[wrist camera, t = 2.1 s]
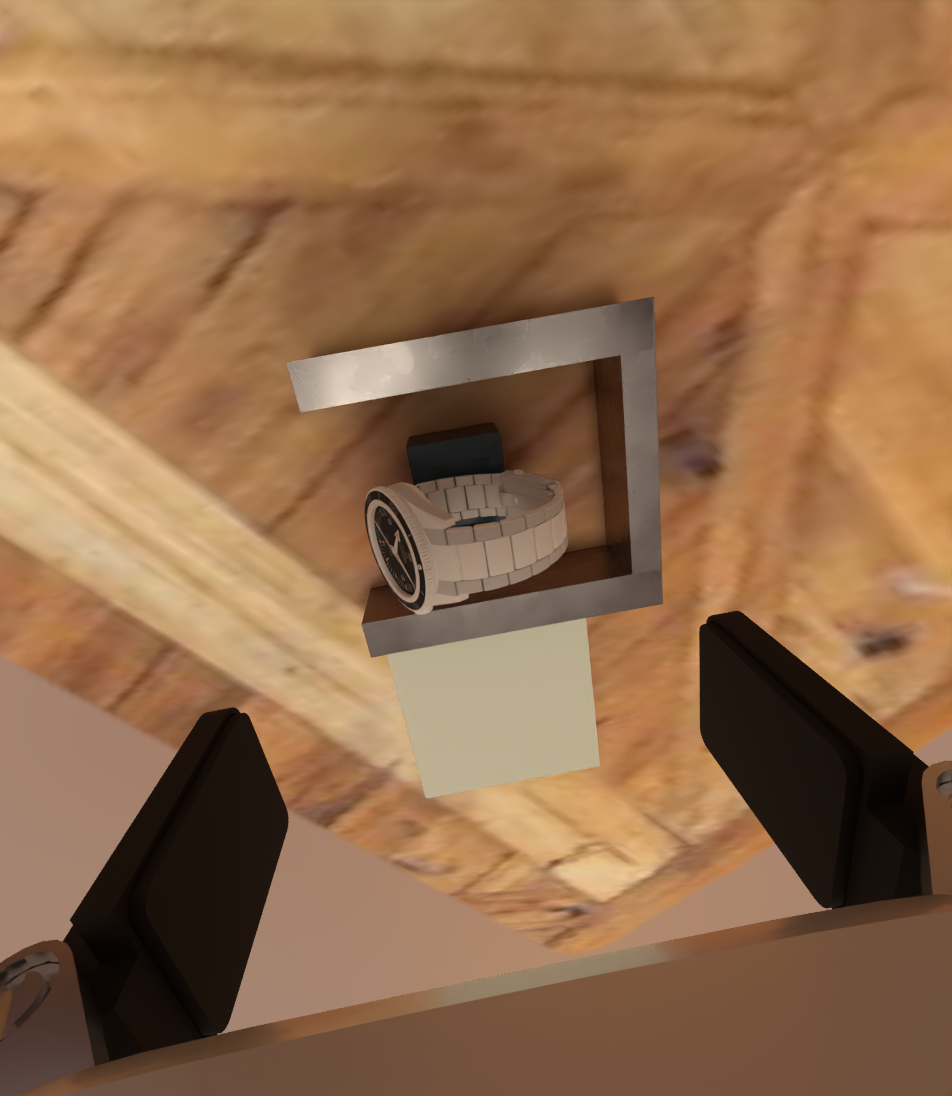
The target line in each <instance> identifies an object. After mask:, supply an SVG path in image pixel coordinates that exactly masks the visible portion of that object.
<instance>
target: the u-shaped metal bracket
mask: <svg viewBox="0 0 952 1096" xmlns="http://www.w3.org/2000/svg"><path fill="white" fill-rule="evenodd" d="M590 360H594V371H595V385H596V399H597V413H598V426H599V440H600V454H601V468H602V482H603V496H604V510H605V524H606V538H607V546H602V547H596V548H591V549H585V550H580V551H574V552H569V553H563V554H562V556H561V557H560V558H559V559H558V560H557V561H555V562H554V563H553V564H550V566H549V567H548V568H547V569H545V570H543V571H542V572H540V573H538V574H536V575H532V576H531V577H529V578H527V579H525V580H522V581H520V582H517V583H515V584H509V585H507V586H504V587H500V588H497V589H493V590H488V591H484V587H483V591H481V592H476V593H470V594H468V595H469V598H467V599H465V600H463V601H461V602H456V603H450V604H442V605H434V606H433V609H432V611H431V612H429V613H426V614H423V615H422V614H421V615H419V614H415V612H414V611H411V610H410V609H408V608H407V607H406V606H404V605H403V604H402V603H401V602H400V601H399V599H398V598H397V597H396V596H395V594H394V593H393V592H392V590H391V589H390V587H389V586H383V587H377V588H372V589H371V590H370V594H369V598H368V602H367V605H366V609H365V613H364V617H363V621H362V627H363V631H364V634H365V638H366V641H367V645H368V648H369V652H370V655H371V657H377V656H382V655H388V654H393V653H398V652H404V651H409V650H415V649H420V648H426V647H431V646H436V645H442V644H447V643H453V642H458V641H464V640H469V639H474V638H480V637H485V636H491V635H496V634H502V633H507V632H512V631H518V630H523V629H529V628H534V627H540V626H545V625H550V624H556V623H561V622H567V621H572V620H578V619H583V618H588V617H594V616H599V615H605V614H610V613H616V612H621V611H626V610H632V609H637V608H643V607H648V606H654V605H659V604H663V595H662V560H661V525H660V489H659V454H658V419H657V384H656V348H655V313H654V297H651V298H645V299H640V300H634V301H628V302H623V303H617V304H612V305H606V306H600V307H595V308H589V309H583V310H578V311H572V312H567V313H561V314H555V315H550V316H544V317H539V318H533V319H527V320H522V321H516V322H510V323H505V324H499V325H494V326H488V327H482V328H477V329H471V330H466V331H460V332H454V333H449V334H443V335H437V336H432V337H426V338H421V339H415V340H409V341H404V342H398V343H393V344H387V345H381V346H376V347H370V348H364V349H359V350H353V351H348V352H342V353H336V354H331V355H325V356H320V357H314V358H308V359H303V360H297V361H291V362H286V364H287V368H288V371H289V375H290V378H291V382H292V385H293V389H294V392H295V395H296V399H297V402H298V406H299V409H300V412H305V411H311V410H317V409H322V408H328V407H333V406H339V405H344V404H350V403H356V402H361V401H367V400H372V399H378V398H384V397H389V396H395V395H400V394H406V393H411V392H417V391H423V390H428V389H434V388H439V387H445V386H451V385H456V384H462V383H467V382H473V381H478V380H484V379H490V378H495V377H501V376H506V375H512V374H517V373H523V372H529V371H534V370H540V369H545V368H551V367H557V366H562V365H568V364H573V363H579V362H584V361H590ZM487 568H488V567H487ZM488 574H489V571H488ZM481 581H482V579H481ZM482 586H483V581H482Z"/></svg>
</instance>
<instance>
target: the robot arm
mask: <svg viewBox="0 0 952 1096" xmlns="http://www.w3.org/2000/svg"><path fill="white" fill-rule="evenodd" d="M699 641H700V731H701V736H702V738H703V741H704V743H705V745H706V747H707V748H708V750H709V751H710V753H711V754H712V755H713V757H714V758H715V760H716V761H717V762H718V764H719V765H720V767H721V768H722V769H723V771H724V772H725V774H726V775H727V776H728V778H729V779H730V781H731V782H732V783H733V785H734V786H735V788H736V789H737V790H738V792H739V793H740V795H741V796H742V797H743V799H744V800H745V802H746V803H747V804H748V806H749V807H750V809H751V810H752V811H753V813H754V814H755V816H756V817H757V818H758V820H759V821H760V823H761V824H762V825H763V827H764V828H765V830H766V831H767V832H768V834H769V835H770V837H771V838H772V839H773V841H774V842H775V844H776V845H777V846H778V848H779V849H780V851H781V852H782V853H783V855H784V856H785V858H786V859H787V861H788V862H789V863H790V865H791V866H792V867H793V869H794V870H795V871H796V873H797V874H798V876H799V877H800V879H801V880H802V882H803V883H804V884H805V886H806V887H807V888H808V890H809V891H810V893H811V894H812V896H813V897H814V898H815V899H816V900H817V902H818V903H819V904H820V905H821V906H822V907H824V908H832V910H826V911H821V912H815V913H809V914H804V915H799V916H792V917H787V918H781V919H776V920H770V921H766V922H760V923H755V924H751V925H745V926H741V927H735V928H730V929H725V930H720V931H716V932H710V933H705V934H700V935H695V936H690V937H685V938H680V939H675V940H670V941H665V942H660V943H655V944H650V945H645V946H640V947H635V948H630V949H625V950H620V951H615V952H610V953H605V954H600V955H595V956H590V957H585V958H580V959H576V960H571V961H566V962H561V963H556V964H551V965H547V966H541V967H537V968H532V969H527V970H522V971H517V972H512V973H507V974H502V975H497V976H493V977H488V978H483V979H478V980H473V981H469V982H463V983H459V984H454V985H449V986H444V987H440V988H434V989H430V990H425V991H420V992H415V993H411V994H406V995H401V996H396V997H392V998H387V999H382V1000H377V1001H373V1002H368V1003H364V1004H358V1005H354V1006H349V1007H344V1008H340V1009H335V1010H330V1011H326V1012H321V1013H316V1014H311V1015H307V1016H302V1017H298V1018H293V1019H288V1020H283V1021H278V1022H274V1023H269V1024H264V1025H260V1026H255V1027H250V1028H246V1029H242V1030H237V1031H233V1032H228V1033H224V1034H220V1035H217V1034H218V1033H222V1032H223V1031H224V1030H225V1028H226V1027H227V1025H228V1023H229V1020H230V1018H231V1014H232V1011H233V1007H234V1004H235V1001H236V998H237V994H238V991H239V988H240V985H241V981H242V978H243V975H244V971H245V968H246V965H247V961H248V958H249V955H250V952H251V948H252V945H253V941H254V938H255V935H256V931H257V928H258V925H259V922H260V918H261V915H262V912H263V909H264V905H265V902H266V899H267V895H268V892H269V889H270V885H271V882H272V879H273V875H274V872H275V869H276V865H277V862H278V859H279V856H280V852H281V849H282V846H283V843H284V839H285V835H286V832H287V829H288V812H287V808H286V806H285V803H284V801H283V798H282V796H281V794H280V791H279V789H278V786H277V784H276V781H275V779H274V776H273V774H272V771H271V769H270V767H269V764H268V762H267V759H266V757H265V754H264V752H263V749H262V747H261V744H260V742H259V740H258V737H257V735H256V732H255V730H254V727H253V725H252V722H251V720H250V718H249V716H248V715H247V714H246V713H240V712H239V710H238V709H236V708H233V707H232V708H227V709H222V710H217V711H212V712H206V713H204V714H203V715H202V716H201V717H200V718H199V720H198V721H197V723H196V724H195V726H194V727H193V729H192V730H191V732H190V734H189V735H188V737H187V738H186V740H185V741H184V743H183V745H182V746H181V748H180V749H179V751H178V752H177V754H176V755H175V757H174V759H173V760H172V762H171V763H170V765H169V766H168V768H167V769H166V771H165V773H164V774H163V776H162V777H161V779H160V780H159V782H158V784H157V785H156V787H155V788H154V790H153V791H152V793H151V794H150V796H149V797H148V799H147V801H146V802H145V804H144V805H143V807H142V808H141V810H140V812H139V813H138V815H137V816H136V818H135V819H134V821H133V823H132V824H131V826H130V827H129V829H128V830H127V832H126V833H125V835H124V836H123V838H122V840H121V841H120V843H119V844H118V846H117V847H116V849H115V850H114V852H113V854H112V855H111V857H110V858H109V860H108V861H107V863H106V864H105V866H104V868H103V869H102V871H101V872H100V874H99V876H98V877H97V879H96V880H95V882H94V883H93V885H92V886H91V888H90V890H89V891H88V893H87V894H86V896H85V897H84V899H83V900H82V902H81V904H80V905H79V907H78V908H77V910H76V911H75V913H74V915H73V916H72V918H71V919H70V921H71V922H72V924H73V926H72V928H71V929H70V931H69V933H68V934H67V936H66V937H65V939H64V940H63V942H62V941H59V940H50V941H42V942H39V943H37V944H34V945H31V946H29V947H26V948H24V949H22V950H21V951H19V952H17V953H15V954H14V955H12V956H10V957H9V958H7V959H5V960H4V961H3V962H1V963H0V1096H952V761H943V762H939V763H936V764H932V765H931V766H930V767H929V766H927V765H926V764H925V763H924V762H922V761H921V760H920V759H919V758H918V757H916V756H915V755H914V754H913V751H912V750H911V749H909V748H908V747H907V746H906V745H904V744H903V743H902V742H901V741H899V740H898V739H897V738H896V737H895V736H893V735H892V734H891V733H890V732H888V731H887V730H886V729H885V728H883V727H882V726H881V725H880V724H879V723H877V722H876V721H875V720H874V719H872V718H871V717H870V716H869V715H867V714H866V713H865V712H864V711H863V710H861V709H860V708H859V707H858V706H856V705H855V704H854V703H853V702H851V701H850V700H849V699H848V698H847V697H845V696H844V695H843V694H842V693H840V692H839V691H838V690H837V689H835V688H834V687H833V686H832V685H831V684H829V683H828V682H827V681H826V680H824V679H823V678H822V677H821V676H819V675H818V674H817V673H816V672H815V671H813V670H812V669H811V668H810V667H808V666H807V665H806V664H805V663H803V662H802V661H801V660H800V659H798V658H797V657H796V656H795V655H794V654H792V653H791V652H790V651H789V650H787V649H786V648H785V647H784V646H782V645H781V644H780V643H779V642H778V641H776V640H775V639H774V638H773V637H771V636H770V635H769V634H768V633H766V632H765V631H764V630H763V629H762V628H760V627H759V626H758V625H757V624H755V623H754V622H753V621H752V620H750V619H749V618H748V617H747V616H746V615H744V614H743V613H741V612H740V611H733V612H728V613H722V614H717V615H712V616H710V617H708V619H707V622H706V624H703V625H701V627H700V632H699Z"/></svg>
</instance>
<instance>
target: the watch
mask: <svg viewBox="0 0 952 1096" xmlns="http://www.w3.org/2000/svg"><path fill="white" fill-rule="evenodd" d="M406 449H407V454H408V458H409V463H410V468H411V473H412V477H413V482H414V485H412V484H409V483H403V482H400V483H395V484H392V485H389V486H386V487H382V486H379V487H375V488H372V489H371V490H370V491H369V492H368V493H367V496H366V500H365V522H366V529H367V534H368V538H369V541H370V545H371V548H372V551H373V554H374V557H375V559H376V562H377V564H378V567H379V569H380V571H381V573H382V575H383V577H384V579H385V581H386V582H387V584H388V586H389V587H390V589H391V590H392V592H393V593H394V594H395V596H396V597H397V598H398V599H399V601H400V602H401V603H402V604H403V605H404V606H406V607H407V608H408V609H410V610H411V611H414V612H415V614H419V615H421V614H422V615H423V614H426V613H429V612H431V611H432V609H433V606H434V605H442V604H450V603H456V602H461V601H463V600H465V599H467V598H469V595H468V594H470V593H476V592H481V591H483V587H484V591H488V590H493V589H497V588H500V587H504V586H507V585H509V584H515V583H517V582H520V581H522V580H525V579H527V578H529V577H531V576H532V575H536V574H538V573H540V572H542V571H543V570H545V569H547V568H548V567H549V566H550V564H553V563H554V562H555V561H557V560H558V559H559V558H560V557H561V556H562V554H563V553H564V552H565V550H566V548H567V545H568V534H567V523H566V512H565V503H564V493H563V490H562V489H561V486H560V483H559V482H558V481H556V480H554V479H551V478H548V477H545V476H541V475H537V474H533V473H527V472H524V471H523V470H520V469H517V470H514V471H512V470H505V468H504V461H503V454H502V447H501V440H500V432H499V430H498V429H497V428H496V426H495V425H494V424H493V423H492V422H491V423H485V424H480V425H474V426H468V427H462V428H456V429H451V430H445V431H439V432H433V433H428V434H422V435H416V436H410V437H409V440H408V443H407V447H406ZM484 548H485V550H484ZM485 553H486V556H485ZM486 559H487V562H486ZM487 565H488V568H487ZM488 571H489V574H488ZM481 579H482V581H483V586H482V581H481Z"/></svg>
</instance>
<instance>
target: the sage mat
mask: <svg viewBox="0 0 952 1096" xmlns="http://www.w3.org/2000/svg"><path fill="white" fill-rule="evenodd" d="M387 658H388V662H389V665H390V669H391V673H392V676H393V680H394V684H395V687H396V691H397V695H398V698H399V702H400V706H401V709H402V713H403V716H404V720H405V724H406V727H407V731H408V735H409V738H410V742H411V746H412V749H413V753H414V757H415V760H416V764H417V767H418V771H419V775H420V778H421V782H422V786H423V789H424V793H425V797H426V799H427V798H432V797H437V796H443V795H448V794H453V793H459V792H464V791H469V790H475V789H480V788H485V787H491V786H496V785H501V784H507V783H512V782H517V781H523V780H528V779H533V778H539V777H544V776H550V775H555V774H560V773H566V772H571V771H576V770H582V769H587V768H592V767H598V766H600V762H599V751H598V740H597V730H596V719H595V709H594V698H593V688H592V677H591V667H590V656H589V645H588V635H587V624H586V618H583V619H578V620H572V621H567V622H561V623H556V624H550V625H545V626H540V627H534V628H529V629H523V630H518V631H512V632H507V633H502V634H496V635H491V636H485V637H480V638H474V639H469V640H464V641H458V642H453V643H447V644H442V645H436V646H431V647H426V648H420V649H415V650H409V651H404V652H398V653H393V654H388V655H387Z"/></svg>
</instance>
